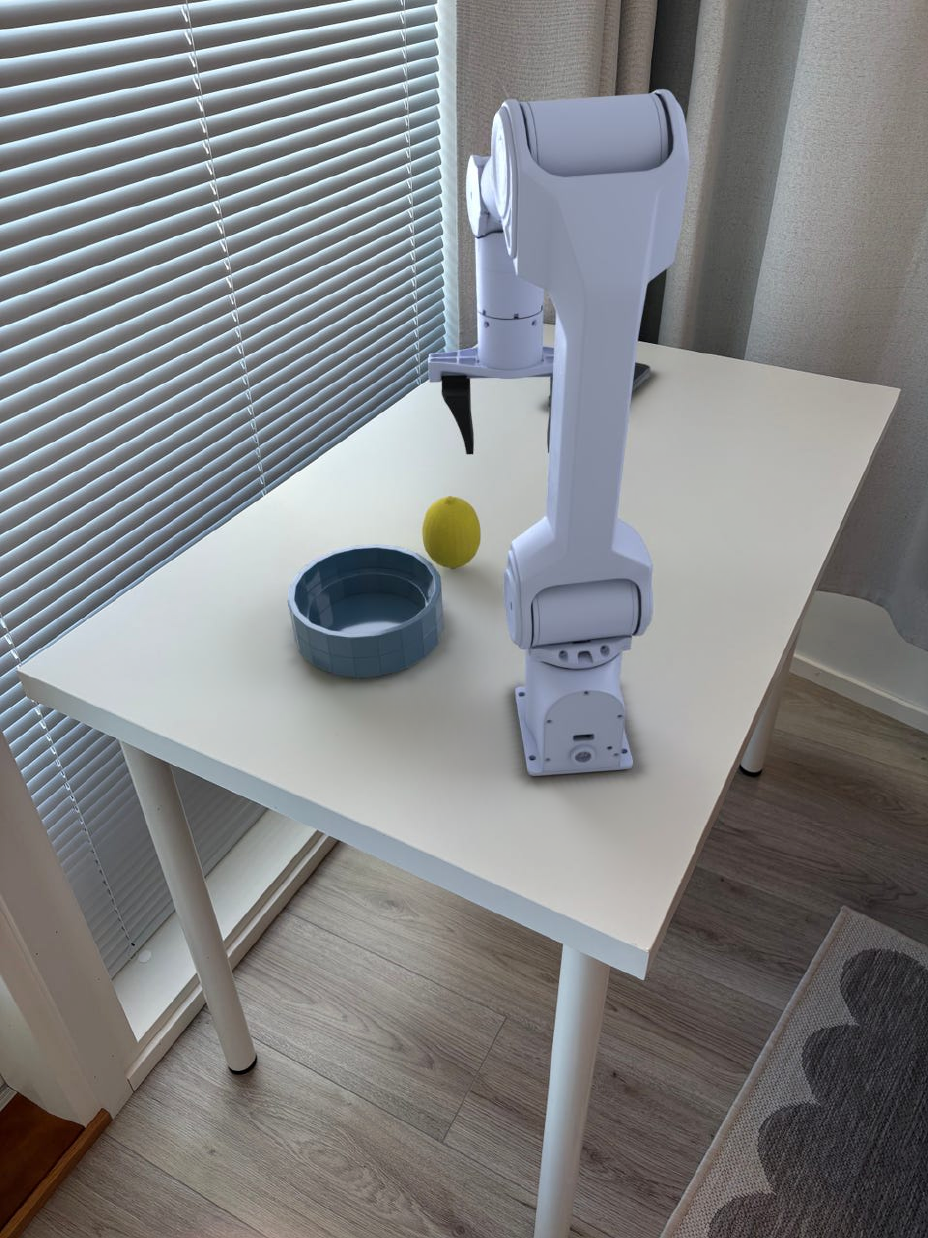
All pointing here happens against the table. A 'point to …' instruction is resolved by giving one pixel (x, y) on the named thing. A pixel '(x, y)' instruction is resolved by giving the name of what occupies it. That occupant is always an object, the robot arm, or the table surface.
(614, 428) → the robot arm
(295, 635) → the bowl
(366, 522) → the table surface
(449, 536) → the lemon
